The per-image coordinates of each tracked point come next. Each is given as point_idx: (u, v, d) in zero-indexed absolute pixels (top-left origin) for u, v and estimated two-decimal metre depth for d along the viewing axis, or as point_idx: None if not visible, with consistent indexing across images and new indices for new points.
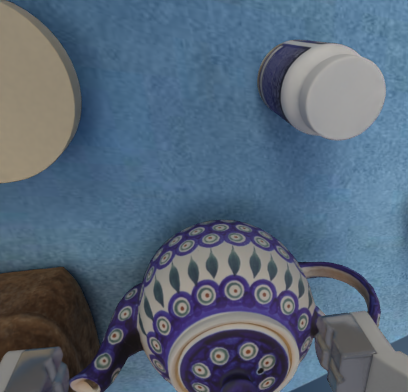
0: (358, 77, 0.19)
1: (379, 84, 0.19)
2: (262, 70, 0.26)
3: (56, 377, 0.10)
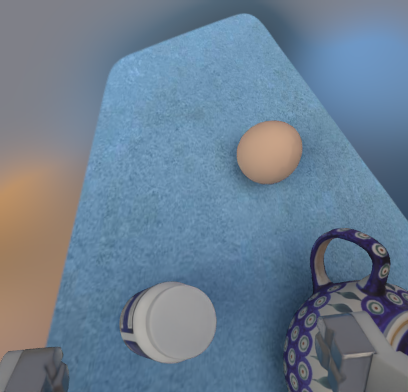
0: (165, 315, 0.23)
1: (169, 294, 0.23)
2: None
3: (56, 377, 0.10)
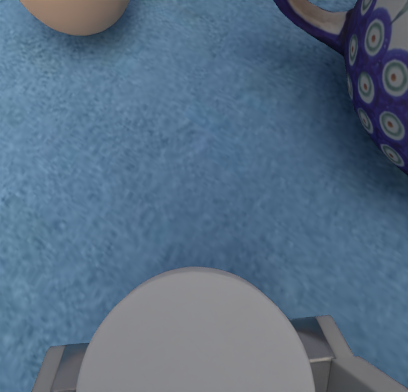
0: None
1: (94, 382, 0.07)
2: None
3: None
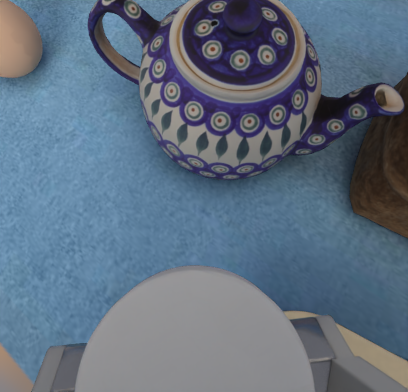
0: None
1: (93, 380, 0.07)
2: None
3: None
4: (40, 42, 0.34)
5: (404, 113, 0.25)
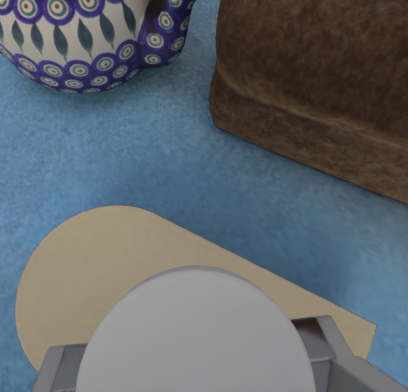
0: None
1: (93, 380, 0.07)
2: None
3: None
4: None
5: None
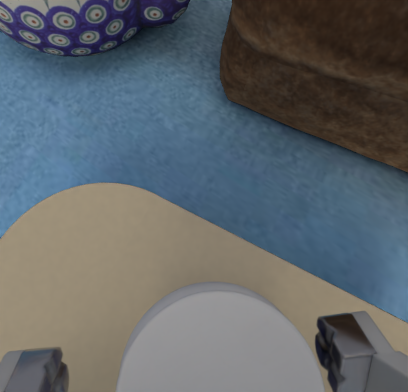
0: None
1: (131, 390, 0.08)
2: None
3: (56, 377, 0.10)
4: None
5: None
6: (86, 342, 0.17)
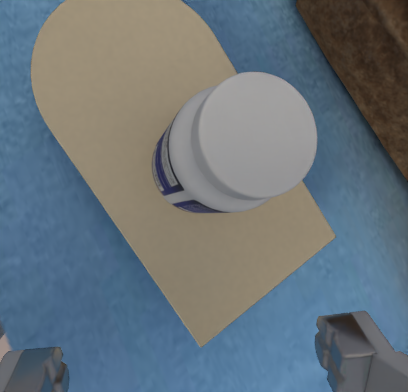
0: (227, 138, 0.12)
1: (218, 100, 0.12)
2: None
3: (56, 377, 0.10)
4: None
5: None
6: (115, 109, 0.21)
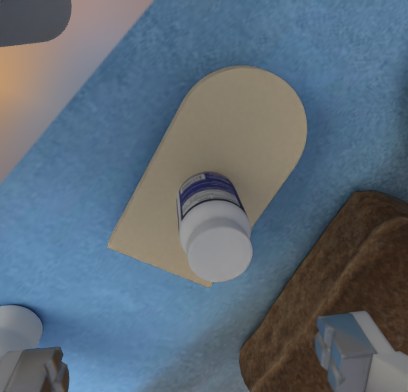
0: (209, 243, 0.24)
1: (225, 232, 0.24)
2: None
3: (56, 377, 0.10)
4: None
5: None
6: (215, 135, 0.31)
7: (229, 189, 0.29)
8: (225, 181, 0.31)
